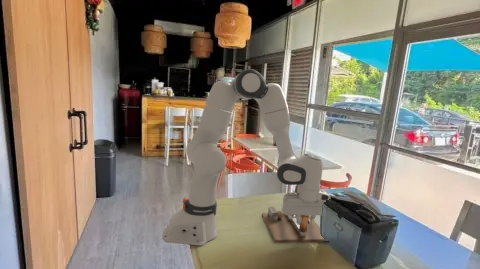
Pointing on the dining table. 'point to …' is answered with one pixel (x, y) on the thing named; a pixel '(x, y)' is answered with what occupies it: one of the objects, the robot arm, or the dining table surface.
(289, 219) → the lever
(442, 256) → the dining table surface
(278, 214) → the tan wooden ball
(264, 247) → the dining table surface
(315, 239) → the walnut board
